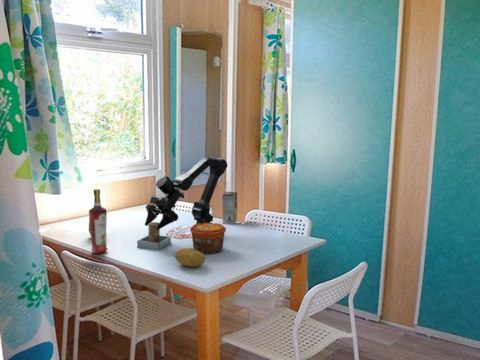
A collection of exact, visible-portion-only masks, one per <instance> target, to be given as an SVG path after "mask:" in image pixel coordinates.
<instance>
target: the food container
mask: <svg viewBox="0 0 480 360" xmlns="http://www.w3.org/2000/svg"><path fill="white" fill-rule="evenodd" d="M222 224H223V223H217V222H215V223H213V222H210V223H203V224H200V223H199V224H196V223H195V224H194V225H192V226H191V227H190V229H189V231H190V232H191V238H192V246H193V249H194V250H196V251H199V252H201V253H203V254H204V255H213V254H219V253H221V252H222V251H223V249H224V248H223V247H224V239H225V232H226V231H227V227H226V226H225V225H222Z"/></svg>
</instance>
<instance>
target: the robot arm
mask: <svg viewBox="0 0 480 360" xmlns="http://www.w3.org/2000/svg"><path fill="white" fill-rule="evenodd" d="M208 168H209V176H208V178H207V181H206V183H205V186H204V189H203V191H202V194H201V196H200V199H199V200H198V201H194V203H193V205H192V207H191V215H192V216H193V219H194V221H196V223H195V224H199V223H200V224H203V223H213V219H214V216H213V215H212V214H211V213H210V211H211V205H210V204H211V200H212V197H213V196H214V195H213V194H214V192H215V189H216V187H217V184H218V181H219V179H220V177H221V176H222V175H223V174H225V172H226V170H227V168H228V162H227V160H225V159H224V158H215V157H214V158H211V157H205V156H204V157H202V158H201V160H199V161H198V162H197V163H196V164H194V166H193V167H191V169H189V170H188V171H187V172H186V173H183V174H180V175H179V176H177V177H176V178H174V179H173V180H171V179H170V177H169V176H167V175H164V176H163V177H161V178H159V179H158V180H157V181H156V184H155V186H156V188H157V189H159V191H160V192H161V193H162V194H164V195H165V196H160V197H157V196H153V195H152V196H151V197H150V200H149V203H148V204H147V205H146V206H145V209H146V211H147V216H146V219H145V222H144V226H146V227H147V226H148V224H149V223H152V222H154V220H156V218H158V216H159V215H160V214H161V215H162V218H161V220H160V221H159V222H158V223H159V225H158V226H157V230H159V229H163V228H164V227H166V226H167V225H170V224H172V223H174V222H177V221H178V220H179V215H178V213H176V212H175V211H174V210H173V208H174V209H175V208H176V207H177V205H176V204H177V202H178V201H179V199H185V195H184V193H185V191H188V190H189V189H190V188H191V186H192V185H193V183H194V181H195V180H196V179H197V178H198V177H199V176H200V175H201V174H202V173H203V172H205V171H206V169H208ZM182 191H184V192H182Z"/></svg>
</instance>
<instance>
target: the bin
mask: <svg viewBox="0 0 480 360" xmlns="http://www.w3.org/2000/svg"><path fill="white" fill-rule="evenodd" d="M171 237H172V236H168V235H160V242H159V243H156V242H149V234H148V235H146V236H144V237H142V238H140V239H137V240H136V244H137V245H136V246H137V247H136V248H142V249H150V250H156V251H157V250H158V251H160V250H162V249H163V248H165V247H166V246H168V245H169V244H171V243H172V238H171Z"/></svg>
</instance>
